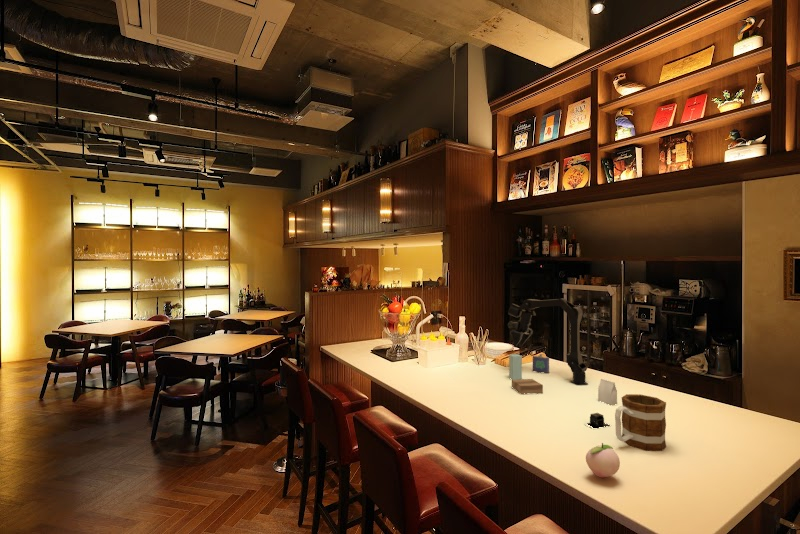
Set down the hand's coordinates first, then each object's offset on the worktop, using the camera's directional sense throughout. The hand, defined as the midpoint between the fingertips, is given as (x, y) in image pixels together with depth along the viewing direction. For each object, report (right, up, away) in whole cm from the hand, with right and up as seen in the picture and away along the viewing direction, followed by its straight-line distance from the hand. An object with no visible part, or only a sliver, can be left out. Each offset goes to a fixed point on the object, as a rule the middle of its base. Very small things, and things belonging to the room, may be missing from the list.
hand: (518, 345), depth 237 cm
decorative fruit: (-9, -16, -118) cm, 120 cm away
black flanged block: (+8, -16, -78) cm, 80 cm away
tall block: (-6, -15, -15) cm, 22 cm away
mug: (+14, -16, -96) cm, 98 cm away
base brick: (-6, -15, -35) cm, 38 cm away
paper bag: (+25, -16, -52) cm, 60 cm away
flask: (+13, -16, 0) cm, 21 cm away
